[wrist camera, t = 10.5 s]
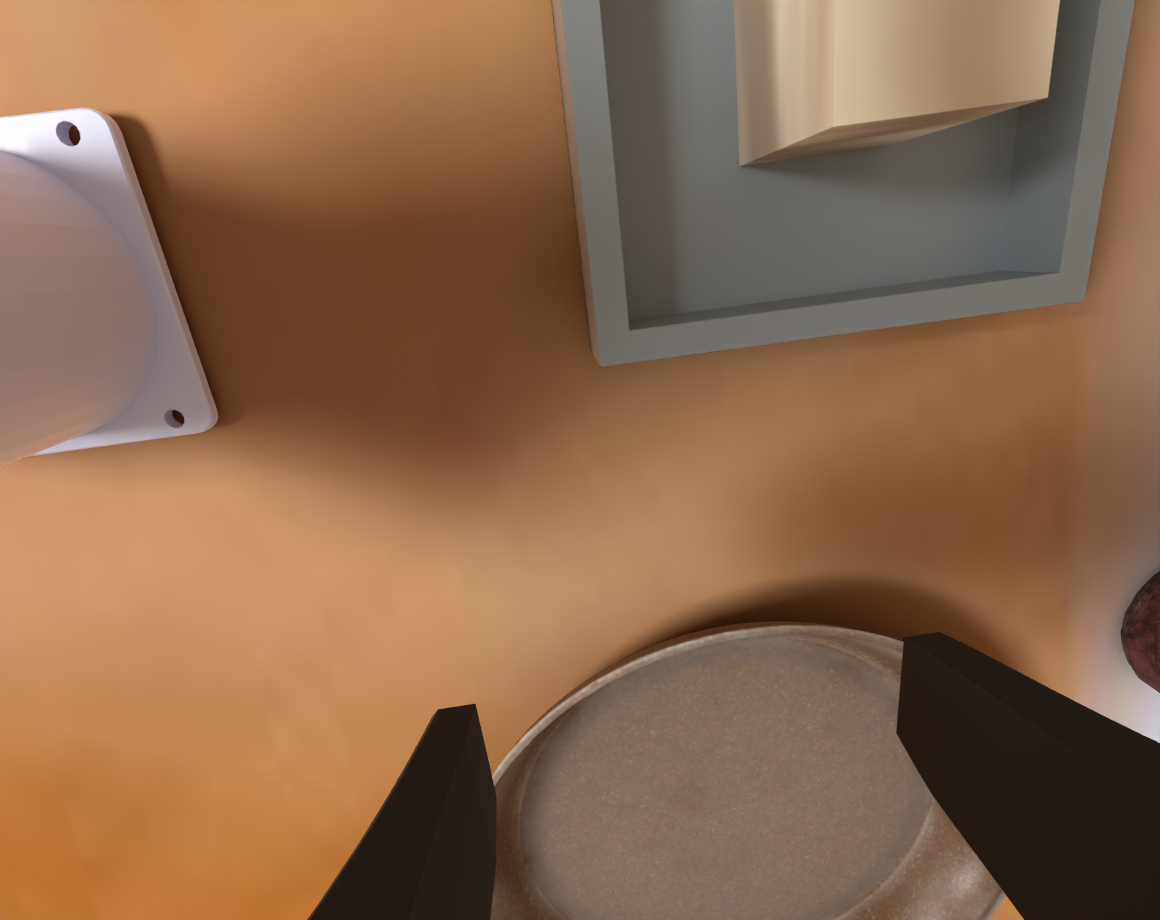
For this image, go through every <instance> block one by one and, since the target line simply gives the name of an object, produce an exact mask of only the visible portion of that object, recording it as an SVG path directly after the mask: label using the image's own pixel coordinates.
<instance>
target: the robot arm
mask: <svg viewBox="0 0 1160 920" xmlns="http://www.w3.org/2000/svg"><path fill="white" fill-rule="evenodd" d="M74 125H75V126H76V127H77V129H78V130H79V132H80V137H81V139H80V141H79V143H78V144H77V145H73V144H72V142H71V140H70V139H69V133H68V132H69V130H70V127H71V126H74ZM173 410H177V411H179V412H180V413H182V415H183V416H184V421H185V422H184V424H180V423H179V422H177V421H176V420H175V419H174V417H173V413H172V411H173ZM217 420H218V412H217V408H216V405H215V402H214V399H213V397H212V394H211V391H210V388H209V385H208V382H207V379H206V376H205V373H204V370H203V368H202V365H201V362H200V359H199V356H198V353H197V350H196V347H195V344H194V341H193V338H192V336H191V333H190V330H189V327H188V324H187V321H186V318H185V315H184V312H183V309H182V307H181V304H180V301H179V298H178V295H177V292H176V289H175V286H174V283H173V280H172V277H171V275H170V272H169V269H168V266H167V263H166V260H165V257H164V254H163V251H162V248H161V246H160V243H159V240H158V237H157V234H156V231H155V228H154V225H153V222H152V219H151V216H150V214H149V211H148V208H147V205H146V202H145V199H144V196H143V193H142V190H141V187H140V184H139V182H138V179H137V176H136V173H135V170H134V167H133V164H132V161H131V158H130V155H129V153H128V150H127V147H126V144H125V141H124V138H123V135H122V132H121V130H120V128H119V126H118V124H117V123H116V122H115V121H114V120H113V119H112V118H111V117H110V116H109V115H107V114H105V113H103V112H101V111H98V110H95V109H92V108H74V109H66V110H57V111H49V112H40V113H32V114H23V115H15V116H6V117H0V467H3V466H5V465H8V464H10V463H13V462H15V461H18V460H20V459H23V458H25V457H28V456H35V455H43V454H50V453H57V452H65V451H72V450H79V449H87V448H94V447H101V446H109V445H116V444H123V443H130V442H138V441H145V440H152V439H160V438H167V437H174V436H182V435H189V434H196V433H201V432H204V431H207V430H209V429H210V428H212V427H213V426H214V425H215V424H216V423H217ZM896 734H897V735H898V737H899V739H900V741H901V742H902V744H903V746H904V748H905V750H906V751H907V753H908V755H909V757H910V758H911V760H912V762H913V764H914V766H915V767H916V769H917V771H918V772H919V774H920V776H921V777H922V779H923V781H924V782H925V784H926V786H927V787H928V789H929V791H930V792H931V794H932V795H933V797H934V798H935V800H936V801H937V802H938V804H939V805H940V806H941V808H942V809H943V811H944V812H945V813H946V815H947V816H948V817H949V819H950V820H951V822H952V823H953V824H954V826H955V827H956V828H957V830H958V831H959V832H960V834H961V835H962V837H963V838H964V839H965V841H966V842H967V843H968V845H969V846H970V847H971V849H972V850H973V851H974V853H975V854H976V855H977V857H978V858H979V859H980V861H981V862H982V863H983V865H984V866H985V867H986V869H987V870H988V871H989V873H990V874H991V875H992V877H993V878H994V880H995V881H996V882H997V884H998V885H999V886H1000V888H1001V889H1002V890H1003V892H1004V893H1005V894H1006V896H1007V897H1008V898H1009V900H1010V901H1011V902H1012V904H1013V905H1014V906H1015V908H1016V909H1017V910H1018V912H1019V913H1020V914H1021V916H1022V917H1023V918H1024V920H1160V743H1158V742H1156V741H1154V740H1152V739H1150V738H1148V737H1146V736H1143V735H1141V734H1139V733H1137V732H1135V731H1133V730H1131V729H1129V728H1127V727H1125V726H1123V725H1121V724H1119V723H1117V722H1115V721H1113V720H1111V719H1109V718H1107V717H1105V716H1103V715H1101V714H1099V713H1097V712H1095V711H1093V710H1091V709H1089V708H1087V707H1085V706H1083V705H1081V704H1079V703H1077V702H1075V701H1073V700H1071V699H1069V698H1067V697H1065V696H1063V695H1061V694H1060V693H1058V692H1056V691H1054V690H1052V689H1050V688H1048V687H1046V686H1044V685H1042V684H1040V683H1038V682H1036V681H1035V680H1033V679H1031V678H1029V677H1027V676H1025V675H1023V674H1021V673H1019V672H1017V671H1015V670H1014V669H1012V668H1010V667H1008V666H1006V665H1004V664H1002V663H1000V662H998V661H996V660H994V659H992V658H991V657H989V656H987V655H985V654H983V653H981V652H979V651H977V650H975V649H973V648H971V647H969V646H967V645H965V644H963V643H961V642H959V641H957V640H955V639H953V638H951V637H949V636H946V635H944V634H942V633H940V632H938V633H931V634H925V635H918V636H912V637H905V638H904V642H903V655H902V667H901V679H900V692H899V704H898V716H897V729H896ZM496 834H497V796H496V792H495V787H494V783H493V779H492V774H491V770H490V765H489V761H488V757H487V752H486V748H485V744H484V739H483V735H482V731H481V726H480V722H479V717H478V713H477V709H476V704H470V705H464V706H457V707H451V708H444V709H438V710H437V712H436V713H435V714H434V715H433V717H432V719H431V720H430V722H429V724H428V726H427V728H426V730H425V732H424V734H423V735H422V737H421V739H420V741H419V743H418V745H417V746H416V748H415V750H414V752H413V754H412V755H411V757H410V759H409V761H408V763H407V764H406V766H405V768H404V770H403V771H402V773H401V775H400V777H399V778H398V780H397V782H396V784H395V785H394V787H393V789H392V790H391V792H390V794H389V795H388V797H387V799H386V800H385V802H384V804H383V805H382V807H381V808H380V810H379V812H378V813H377V815H376V817H375V818H374V820H373V822H372V823H371V825H370V827H369V828H368V830H367V832H366V833H365V835H364V836H363V838H362V839H361V841H360V843H359V844H358V846H357V847H356V849H355V850H354V852H353V853H352V855H351V856H350V858H349V859H348V861H347V862H346V864H345V865H344V867H343V868H342V870H341V871H340V873H339V874H338V876H337V877H336V879H335V880H334V882H333V883H332V885H331V886H330V888H329V889H328V891H327V892H326V894H325V895H324V897H323V898H322V900H321V901H320V902H319V904H318V905H317V907H316V908H315V910H314V911H313V912H312V914H311V915H310V917H309V918H308V919H307V920H490V918H491V909H492V900H493V890H494V880H495V871H496Z"/></svg>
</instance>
